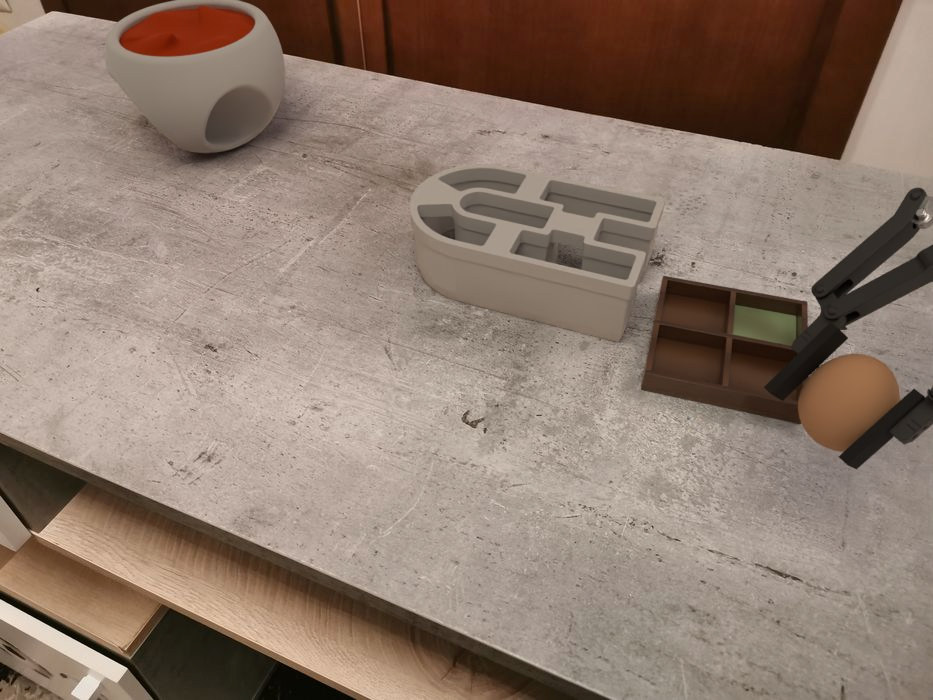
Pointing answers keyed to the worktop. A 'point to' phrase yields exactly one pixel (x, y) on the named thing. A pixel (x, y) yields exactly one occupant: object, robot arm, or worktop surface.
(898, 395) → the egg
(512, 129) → the worktop surface
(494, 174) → the grey compartment organizer
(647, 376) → the compartment tray
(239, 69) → the pot
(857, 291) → the robot arm
